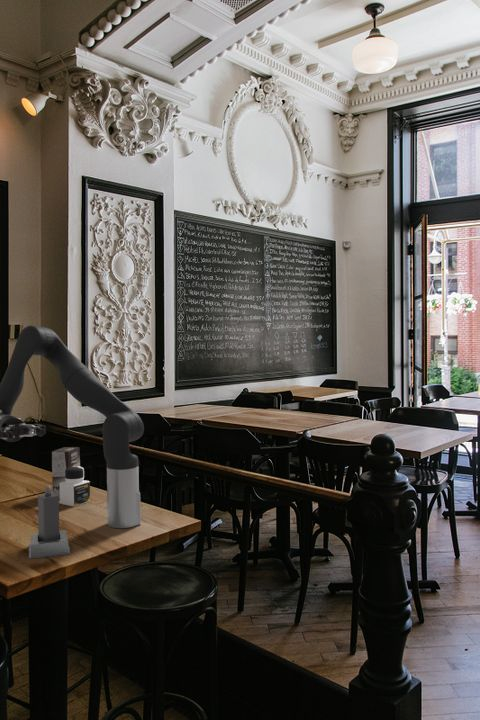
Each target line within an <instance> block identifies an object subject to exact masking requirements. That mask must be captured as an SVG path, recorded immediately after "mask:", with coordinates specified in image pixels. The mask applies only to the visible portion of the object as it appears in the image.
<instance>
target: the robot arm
mask: <svg viewBox="0 0 480 720" xmlns="http://www.w3.org/2000/svg"><path fill="white" fill-rule="evenodd" d="M33 356H41V357H42V358H45V359H46V360H48V361H49V363H50V364H52V365H53V366H54V368H55V369H56V370H57V374H58V378H59V382H60V384H61V385H62V387H63V388H64V389H65V390H66V391H67V392H68V393H69V394H70V395H71V396H72V398H74V399H75V400H76V401H78V402H79V403H81V404H82V405H84V406H86V407H88V408H90V409H93V410H95V411H97V412H98V413H100V414H101V415H103V416H104V417H105V419H104V421H103V425H102V446H103V447H102V449H103V457H104V459H105V462H106V487H107V488H106V497H107V498H106V501H107V503H106V505H107V510H106V511H107V526H108V527H110V528H113V529H128V528H133V527H135V526H139V525H141V523H142V522H141V520H142V519H141V518H142V517H141V492H140V489H139V488H140V487H139V486H140V484H139V483H140V482H139V475H140V474H139V456H138V455H136V454H134V453H131V451H130V450H131V449H130V443H132V442H134V441H135V442H136V441H137V440H139V439H140V438H141V437H143V434H144V431H145V426H144V422H143V420H142V418H141V417H140V415H139V414H138V413H137V412H136V411H134V410H133V409H132V408H130V407H129V406H128V405H127V404H125V402H123V401H121V399H119V398H118V397H117V396H116V395H115V394H114V393H113V392H112V391H111V390H110V389H109V388H108V387H107V386H106V385H105V384H104V383H103V382H101V380H100V379H99V378H98V377H97V376H96V375H95V374H94V372H92V370H90V369H89V368H88V367H87V366H86V365H85V364H84V363H82V362H81V360H79V358H78V357H77V356H75V355H74V354H73V353H72V352H71V351H70V349H69V348H68V347H67V345H65V343H64V342H63V341H62V339H61V338H60V337H59V335H57V333H56V332H55V331H54V330H52V329H50V328H48V327H44V326H40V325H39V326H38V325H26V326H25V327H24V328H23V329H22V330H21V331H20V333H19V335H18V337H17V339H16V343H15V345H14V348H13V350H12V353H11V357H10V359H9V362H8V364H7V365H8V366H7V368H6V371H5V374H4V375H3V377H2V379H1V382H0V440H1V439H2V440H4V441H6V442H8V443H9V442H10V443H15V442H18V441H20V440H21V439H22V438H24V437H27V438H28V437H31V438H32V437H34V436H37V437H44V435H46V434H47V433H46V425H44V424H41V423H34V424H29V423H28V424H27V423H25V422H24V420H23V419H21V418H20V417H17V416H14V415H12V412H13V408H14V406H15V404H16V403H17V400H18V398H20V395H21V394H22V391H23V389H24V383H25V370H26V367H27V366H28V362H29V361H30V360H31V358H32V357H33Z"/></svg>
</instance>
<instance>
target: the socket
mask: <svg viewBox="0 0 480 720" xmlns="http://www.w3.org/2000/svg"><path fill="white" fill-rule="evenodd" d="M68 539H69V538H68V534H67V530H66V529H64V530H63V529H62V530H59V540H51V541H42V542H39V533H38V532H35V533H33V532H32V533H30V543H29V544H28V559H29V560H33V559H41V558H50V557H51V558H52V557H58V556H65V555H66V556H68V555H71V549H70V544H69V540H68Z"/></svg>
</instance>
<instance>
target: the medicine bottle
mask: <svg viewBox="0 0 480 720" xmlns="http://www.w3.org/2000/svg"><path fill="white" fill-rule="evenodd" d="M84 478H85V469H84V467H82V466H80V467H79V466H74V467H69V468H67V469H66V470H65V480H66V481H65V482H61V483H60V497H59V505H60V504H61V505H64V506H67V507H68V506H69V507H79V506H80V505H85V504H86V503H89V502H91V484H90V483H91V481H89V480H84Z"/></svg>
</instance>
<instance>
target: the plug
mask: <svg viewBox="0 0 480 720" xmlns="http://www.w3.org/2000/svg"><path fill="white" fill-rule="evenodd" d="M44 488H45V492H44V494H38V495H37V517H38V518H37V521H38V522H37V525H38V526H37V527H38V529H37V530H38V532H37V533H39V542H42V541H51V540H59V531H60V497H59V496H58V495H56V494H54V493H52V486H51V485H46V486H45V487H44Z"/></svg>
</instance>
